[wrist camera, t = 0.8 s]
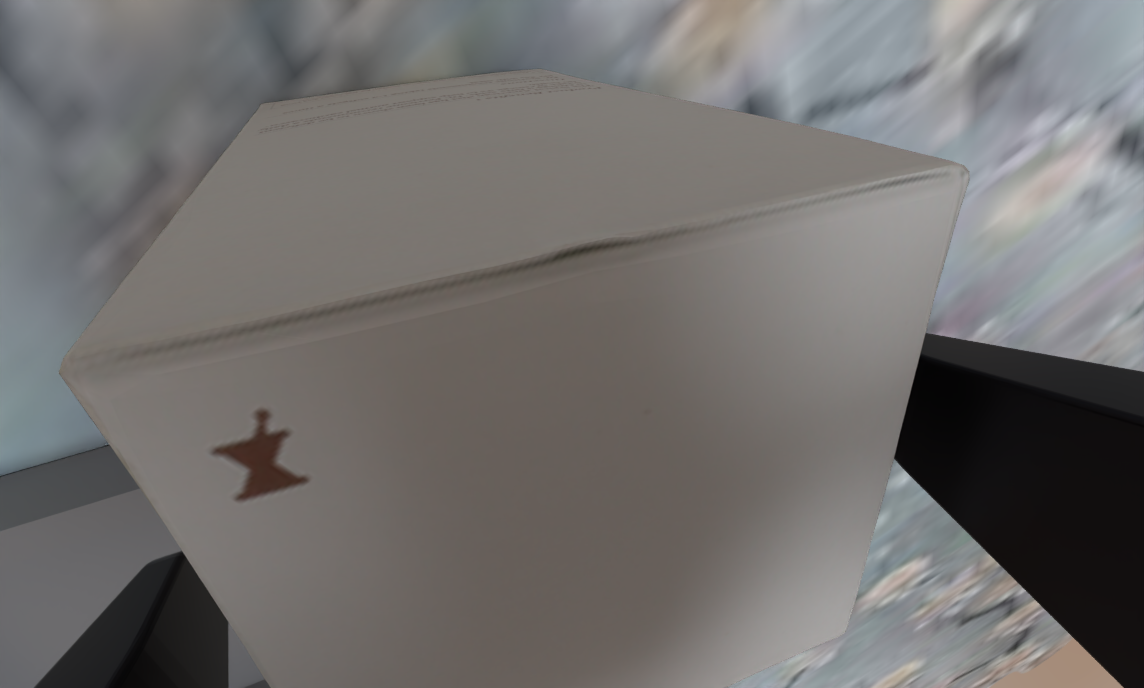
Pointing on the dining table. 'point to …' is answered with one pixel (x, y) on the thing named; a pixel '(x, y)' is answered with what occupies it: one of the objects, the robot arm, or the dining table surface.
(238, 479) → the supplement box
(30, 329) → the dining table surface
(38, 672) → the tray
